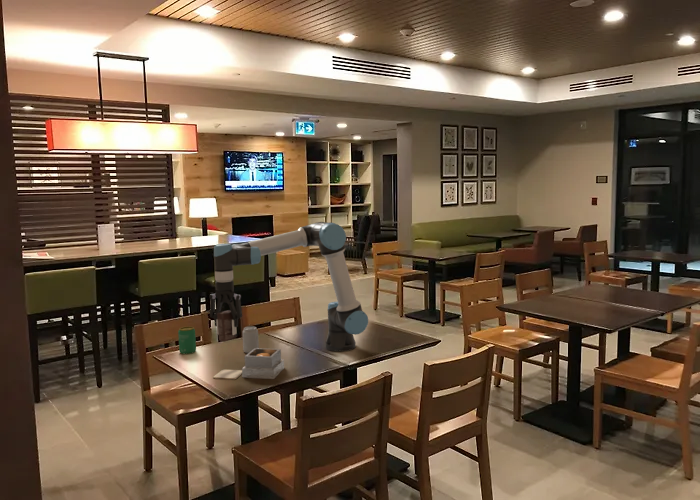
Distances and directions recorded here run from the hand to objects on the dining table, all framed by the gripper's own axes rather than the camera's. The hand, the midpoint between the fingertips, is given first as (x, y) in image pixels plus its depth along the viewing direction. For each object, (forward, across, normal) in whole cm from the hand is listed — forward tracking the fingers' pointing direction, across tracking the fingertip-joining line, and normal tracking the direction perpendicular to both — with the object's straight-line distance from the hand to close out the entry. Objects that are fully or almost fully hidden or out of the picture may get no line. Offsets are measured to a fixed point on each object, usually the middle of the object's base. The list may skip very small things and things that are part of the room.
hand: (226, 333), depth 240 cm
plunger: (+14, -14, -5) cm, 20 cm away
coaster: (+18, 0, 0) cm, 18 cm away
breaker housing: (+18, -14, -5) cm, 23 cm away
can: (+18, +3, -34) cm, 39 cm away
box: (+3, 0, 0) cm, 3 cm away
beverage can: (+18, +34, -29) cm, 48 cm away
